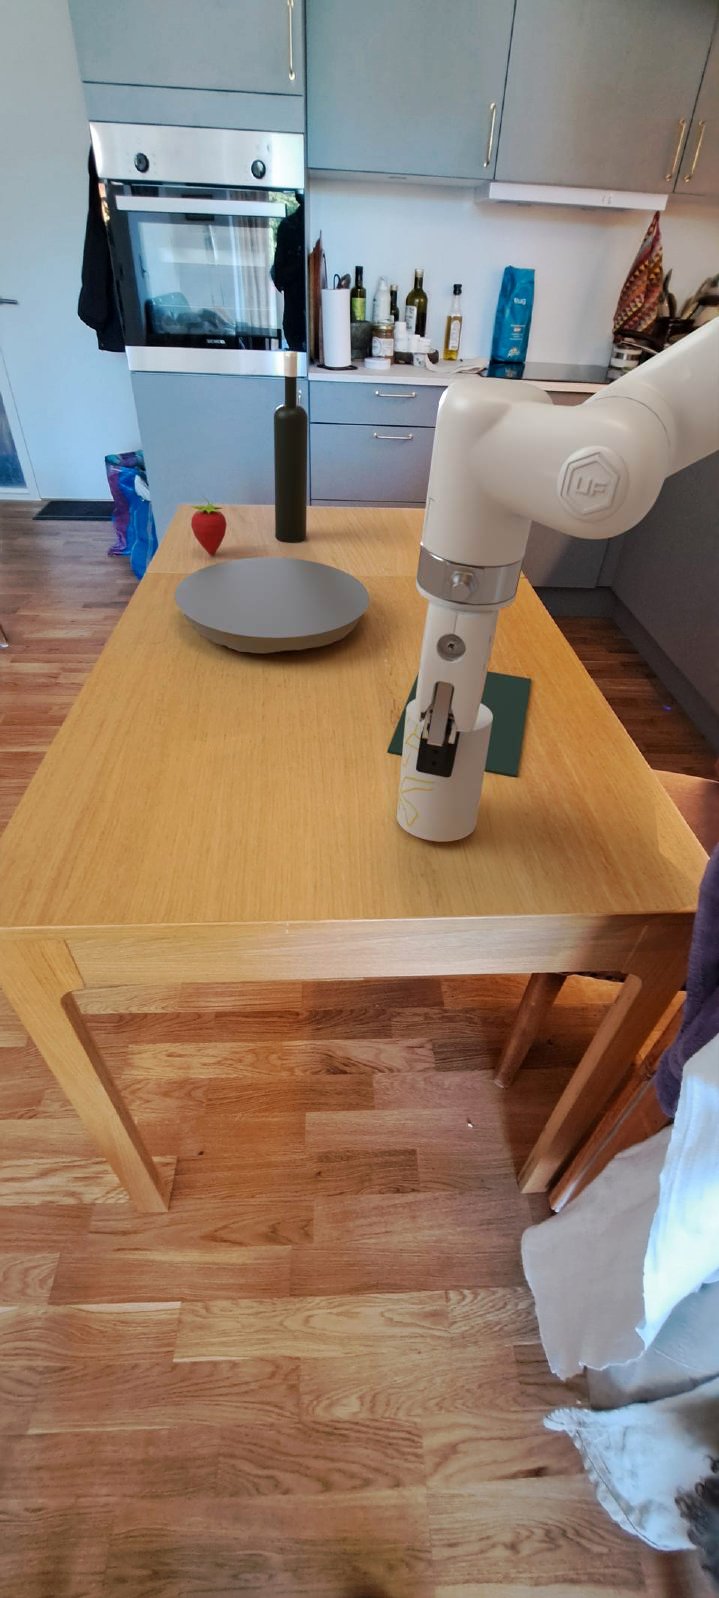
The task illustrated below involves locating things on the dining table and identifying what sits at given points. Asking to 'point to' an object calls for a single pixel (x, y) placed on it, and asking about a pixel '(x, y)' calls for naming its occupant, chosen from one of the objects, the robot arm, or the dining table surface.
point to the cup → (443, 783)
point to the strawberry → (209, 527)
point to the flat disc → (271, 603)
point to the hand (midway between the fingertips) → (434, 769)
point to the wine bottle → (290, 460)
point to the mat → (507, 729)
